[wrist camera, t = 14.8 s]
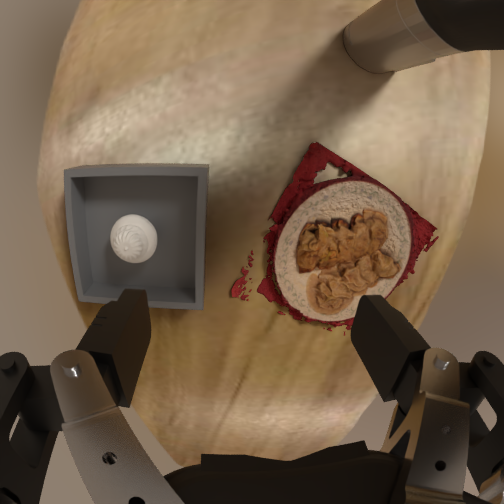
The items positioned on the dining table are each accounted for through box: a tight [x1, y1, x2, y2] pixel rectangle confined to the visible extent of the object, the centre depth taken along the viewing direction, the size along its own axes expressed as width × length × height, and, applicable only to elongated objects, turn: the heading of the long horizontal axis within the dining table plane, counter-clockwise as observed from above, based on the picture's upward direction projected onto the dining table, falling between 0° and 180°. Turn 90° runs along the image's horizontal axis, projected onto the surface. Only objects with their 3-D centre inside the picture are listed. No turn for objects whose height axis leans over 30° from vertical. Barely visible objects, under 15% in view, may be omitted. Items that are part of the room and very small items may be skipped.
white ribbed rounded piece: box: [110, 214, 157, 263], centre depth 33 cm, size 6×6×7 cm
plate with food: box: [231, 142, 439, 335], centre depth 41 cm, size 25×26×4 cm
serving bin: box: [64, 163, 209, 310], centre depth 35 cm, size 18×18×5 cm
